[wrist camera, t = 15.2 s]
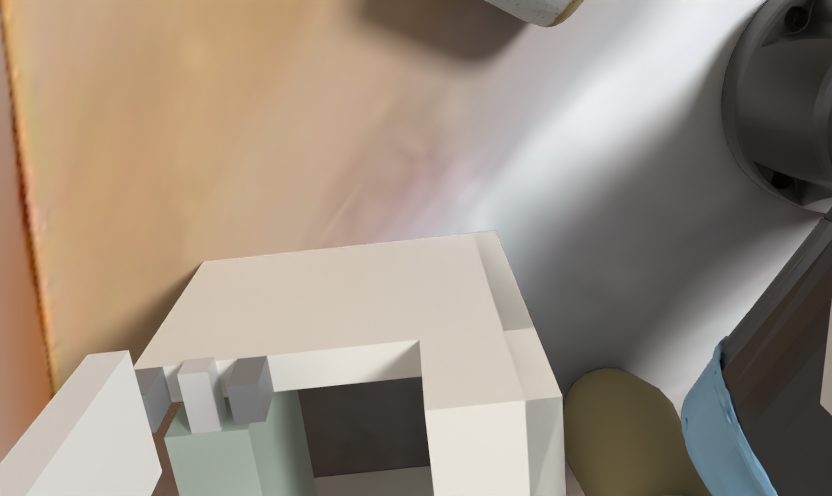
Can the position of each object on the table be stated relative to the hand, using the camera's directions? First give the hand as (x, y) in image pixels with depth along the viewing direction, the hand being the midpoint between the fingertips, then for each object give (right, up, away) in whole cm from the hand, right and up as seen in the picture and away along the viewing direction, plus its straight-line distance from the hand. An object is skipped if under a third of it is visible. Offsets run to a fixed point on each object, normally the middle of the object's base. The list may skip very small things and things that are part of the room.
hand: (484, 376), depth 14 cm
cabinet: (-5, -7, +37) cm, 38 cm away
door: (-11, -9, +34) cm, 37 cm away
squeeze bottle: (+12, -9, +39) cm, 42 cm away
